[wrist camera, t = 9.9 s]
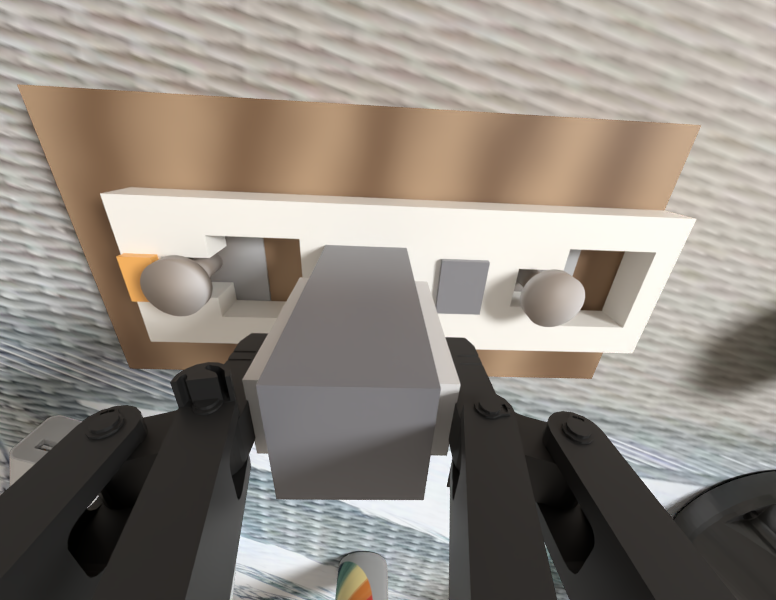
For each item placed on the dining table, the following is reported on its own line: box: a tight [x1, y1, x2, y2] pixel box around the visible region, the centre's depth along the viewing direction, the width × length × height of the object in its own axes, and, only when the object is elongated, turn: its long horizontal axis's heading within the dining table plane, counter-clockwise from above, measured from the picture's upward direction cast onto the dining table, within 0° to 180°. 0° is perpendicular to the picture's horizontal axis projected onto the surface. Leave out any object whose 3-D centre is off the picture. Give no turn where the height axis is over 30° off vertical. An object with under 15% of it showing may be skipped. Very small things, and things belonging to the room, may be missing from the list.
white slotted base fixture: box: [100, 187, 696, 500], centre depth 13 cm, size 28×8×12 cm, turn 87°
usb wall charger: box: [10, 415, 82, 486], centre depth 26 cm, size 4×7×4 cm, turn 153°
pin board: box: [17, 84, 701, 379], centre depth 18 cm, size 32×16×6 cm, turn 87°
